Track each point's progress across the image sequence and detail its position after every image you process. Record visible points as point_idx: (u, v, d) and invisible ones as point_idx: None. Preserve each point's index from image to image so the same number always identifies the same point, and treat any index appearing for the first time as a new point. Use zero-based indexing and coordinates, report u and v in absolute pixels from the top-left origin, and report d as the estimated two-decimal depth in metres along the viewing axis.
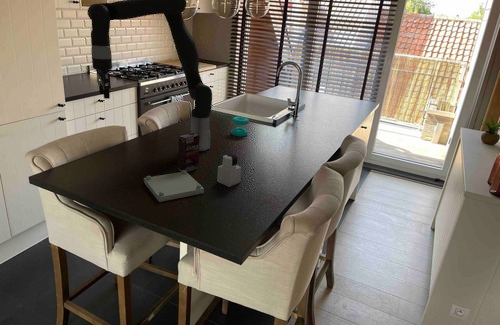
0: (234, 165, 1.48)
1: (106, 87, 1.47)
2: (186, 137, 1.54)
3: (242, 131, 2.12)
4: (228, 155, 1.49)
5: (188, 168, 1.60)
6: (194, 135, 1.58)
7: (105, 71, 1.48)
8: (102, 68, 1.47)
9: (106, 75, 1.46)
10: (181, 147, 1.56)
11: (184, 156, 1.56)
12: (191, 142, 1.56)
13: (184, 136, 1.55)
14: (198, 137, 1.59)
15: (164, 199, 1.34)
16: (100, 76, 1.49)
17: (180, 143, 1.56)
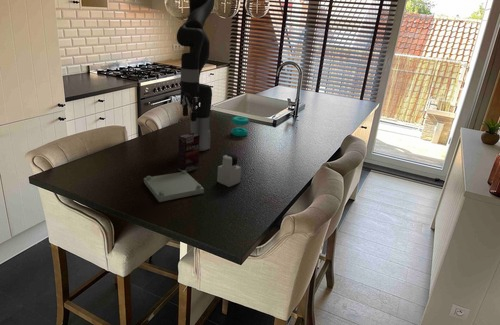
0: (234, 165, 1.48)
1: (195, 110, 1.47)
2: (186, 137, 1.54)
3: (242, 131, 2.12)
4: (228, 155, 1.49)
5: (188, 168, 1.60)
6: (194, 135, 1.58)
7: (194, 94, 1.48)
8: (191, 91, 1.47)
9: (196, 98, 1.45)
10: (181, 147, 1.56)
11: (184, 156, 1.56)
12: (191, 142, 1.56)
13: (184, 136, 1.55)
14: (198, 137, 1.59)
15: (164, 199, 1.34)
16: (188, 99, 1.49)
17: (180, 143, 1.56)
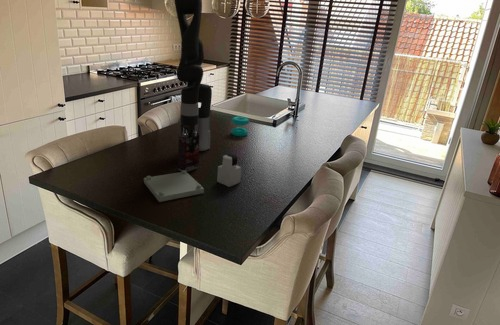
0: (234, 165, 1.48)
1: (193, 143, 1.53)
2: (186, 137, 1.54)
3: (242, 131, 2.12)
4: (228, 155, 1.49)
5: (188, 168, 1.60)
6: None
7: (193, 127, 1.53)
8: (191, 124, 1.52)
9: (195, 133, 1.51)
10: (181, 147, 1.56)
11: (184, 156, 1.56)
12: None
13: (184, 136, 1.55)
14: (198, 137, 1.59)
15: (164, 199, 1.34)
16: (188, 131, 1.54)
17: (180, 143, 1.56)
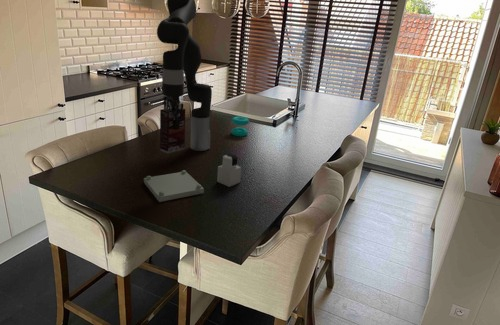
0: (234, 165, 1.48)
1: (177, 118, 1.29)
2: (169, 111, 1.31)
3: (242, 131, 2.12)
4: (228, 155, 1.49)
5: (172, 149, 1.36)
6: None
7: (177, 98, 1.29)
8: (174, 95, 1.28)
9: (179, 105, 1.27)
10: (163, 123, 1.32)
11: (167, 133, 1.32)
12: None
13: (167, 109, 1.32)
14: (184, 111, 1.35)
15: (164, 199, 1.34)
16: (171, 104, 1.30)
17: (162, 118, 1.32)
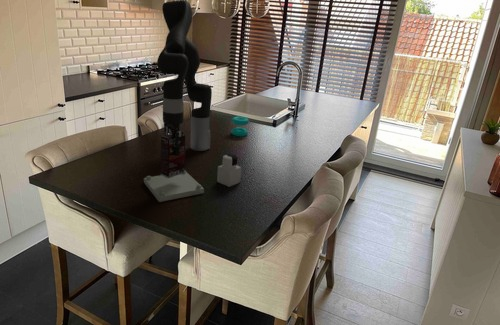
0: (234, 165, 1.48)
1: (178, 145, 1.33)
2: (170, 138, 1.34)
3: (242, 131, 2.12)
4: (228, 155, 1.49)
5: (173, 173, 1.39)
6: None
7: (177, 126, 1.32)
8: (174, 123, 1.31)
9: (180, 133, 1.30)
10: (163, 149, 1.36)
11: (167, 159, 1.36)
12: None
13: (167, 136, 1.35)
14: (183, 137, 1.38)
15: (164, 199, 1.34)
16: (171, 131, 1.33)
17: (162, 144, 1.35)
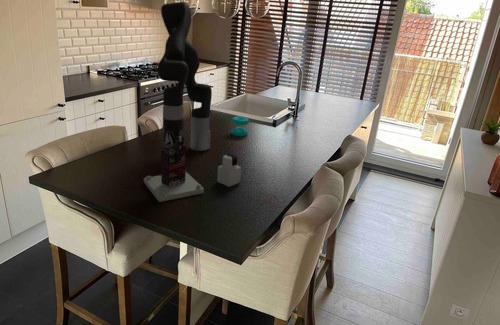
0: (234, 165, 1.48)
1: (179, 150, 1.32)
2: (170, 148, 1.35)
3: (242, 131, 2.12)
4: (228, 155, 1.49)
5: (173, 183, 1.41)
6: None
7: (177, 132, 1.33)
8: (175, 129, 1.32)
9: (180, 138, 1.31)
10: (164, 159, 1.37)
11: (167, 169, 1.37)
12: None
13: (167, 146, 1.36)
14: (184, 148, 1.40)
15: (164, 199, 1.34)
16: (171, 137, 1.34)
17: (163, 154, 1.37)
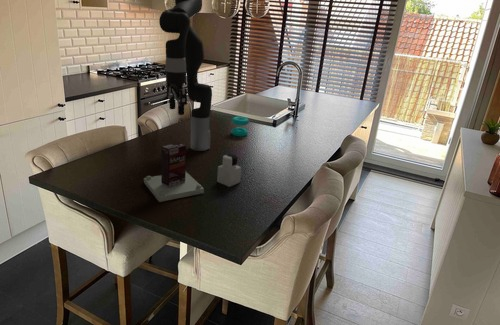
0: (234, 165, 1.48)
1: (182, 103, 1.34)
2: (170, 148, 1.35)
3: (242, 131, 2.12)
4: (228, 155, 1.49)
5: (173, 183, 1.41)
6: (179, 145, 1.39)
7: (180, 85, 1.35)
8: (178, 82, 1.34)
9: (183, 90, 1.33)
10: (164, 159, 1.37)
11: (167, 169, 1.37)
12: (175, 153, 1.37)
13: (168, 146, 1.36)
14: (184, 148, 1.40)
15: (164, 199, 1.34)
16: (174, 91, 1.36)
17: (163, 154, 1.37)
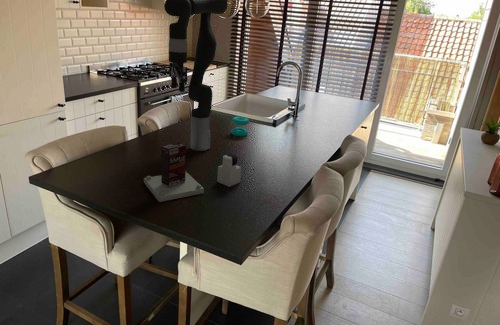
0: (234, 165, 1.48)
1: (183, 80, 1.48)
2: (170, 148, 1.35)
3: (242, 131, 2.12)
4: (228, 155, 1.49)
5: (173, 183, 1.41)
6: (179, 145, 1.39)
7: (182, 64, 1.49)
8: (179, 61, 1.48)
9: (184, 68, 1.47)
10: (164, 159, 1.37)
11: (167, 169, 1.37)
12: (175, 153, 1.37)
13: (168, 146, 1.36)
14: (184, 148, 1.40)
15: (164, 199, 1.34)
16: (176, 69, 1.50)
17: (163, 154, 1.37)
